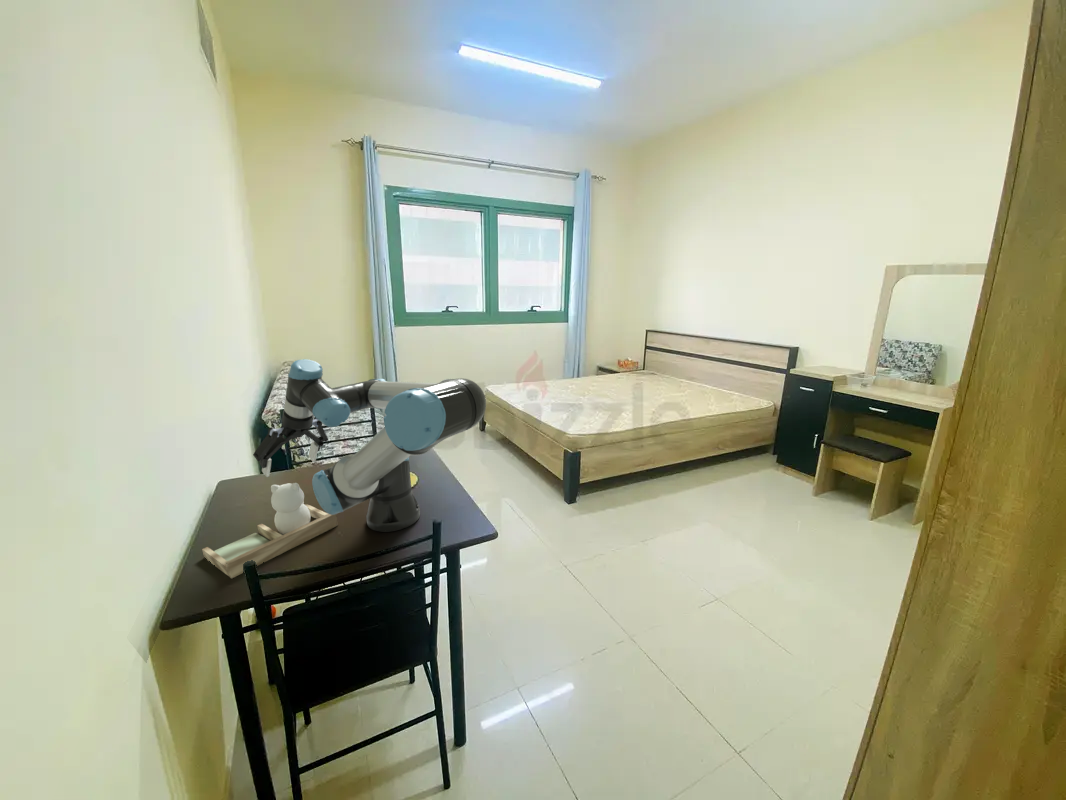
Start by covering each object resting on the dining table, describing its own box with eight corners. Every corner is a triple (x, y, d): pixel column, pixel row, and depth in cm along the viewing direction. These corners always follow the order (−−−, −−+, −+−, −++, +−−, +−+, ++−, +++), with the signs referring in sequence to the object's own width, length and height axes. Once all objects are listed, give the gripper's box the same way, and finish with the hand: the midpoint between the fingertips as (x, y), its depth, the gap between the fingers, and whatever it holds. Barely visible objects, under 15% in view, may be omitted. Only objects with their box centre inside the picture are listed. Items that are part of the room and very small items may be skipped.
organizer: (337, 525, 123) (336, 513, 122) (231, 578, 101) (228, 564, 100) (307, 510, 132) (305, 499, 131) (202, 556, 109) (199, 543, 108)
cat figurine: (270, 541, 116) (260, 492, 112) (286, 518, 127) (277, 472, 123) (305, 537, 117) (297, 488, 113) (318, 514, 129) (311, 469, 125)
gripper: (334, 394, 128) (322, 446, 138) (242, 412, 108) (237, 471, 118) (348, 409, 125) (335, 460, 135) (257, 430, 105) (250, 489, 115)
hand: (289, 466), depth 126 cm, fingers open, 13 cm apart
